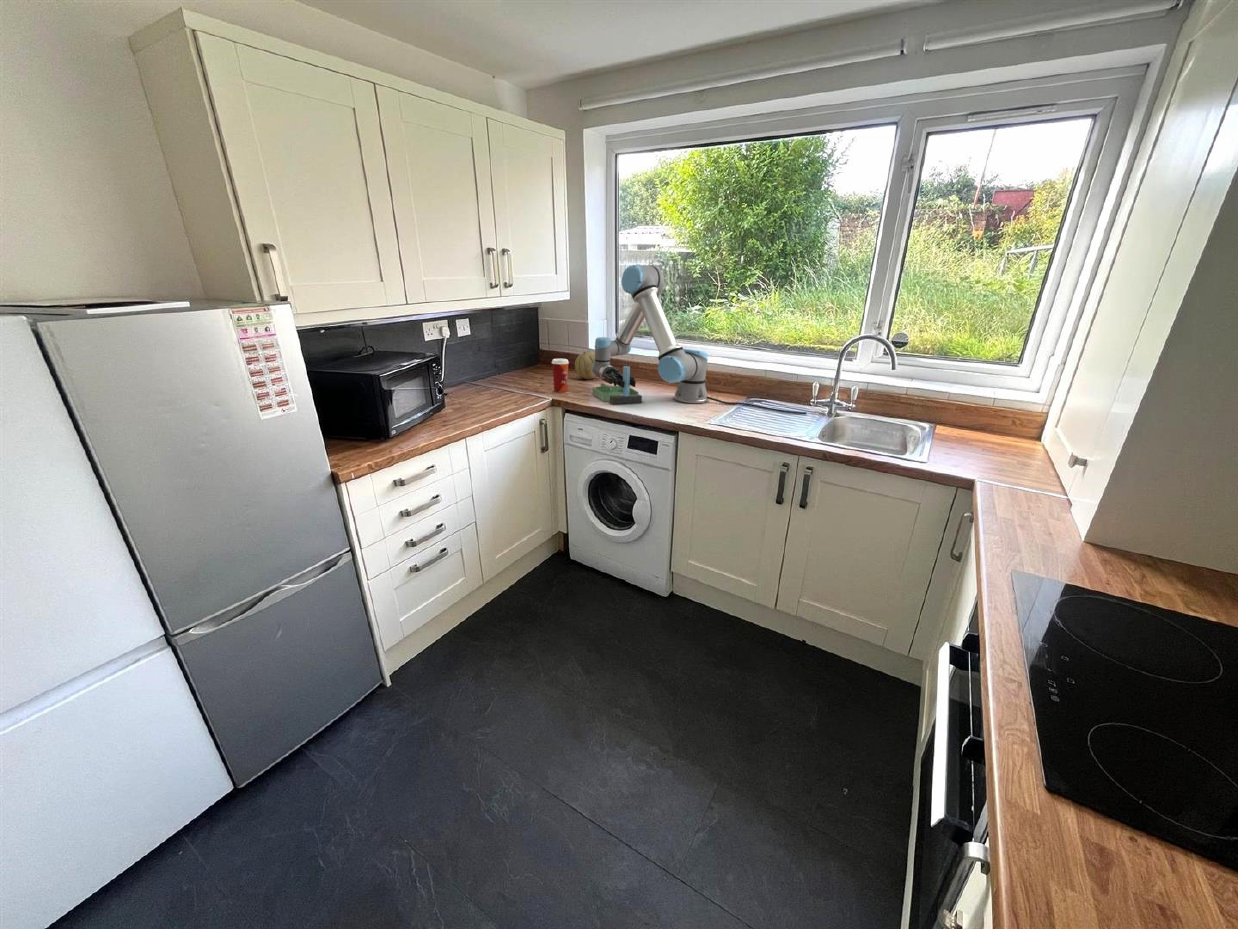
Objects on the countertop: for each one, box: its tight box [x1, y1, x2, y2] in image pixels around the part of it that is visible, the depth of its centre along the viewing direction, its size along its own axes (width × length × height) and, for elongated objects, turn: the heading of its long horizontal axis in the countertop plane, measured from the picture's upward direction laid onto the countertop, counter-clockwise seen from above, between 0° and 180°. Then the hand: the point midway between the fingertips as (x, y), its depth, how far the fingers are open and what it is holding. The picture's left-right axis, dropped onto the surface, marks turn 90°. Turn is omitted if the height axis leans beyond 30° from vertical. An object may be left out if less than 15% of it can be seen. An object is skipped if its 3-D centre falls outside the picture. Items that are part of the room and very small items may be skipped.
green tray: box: [592, 382, 639, 402], centre depth 238 cm, size 25×17×3 cm
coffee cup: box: [551, 358, 570, 393], centre depth 239 cm, size 8×8×15 cm
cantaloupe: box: [574, 351, 598, 380], centre depth 267 cm, size 15×15×15 cm
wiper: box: [609, 365, 643, 406], centre depth 221 cm, size 4×14×16 cm, turn 113°
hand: (629, 384), depth 218 cm, fingers open, 5 cm apart
